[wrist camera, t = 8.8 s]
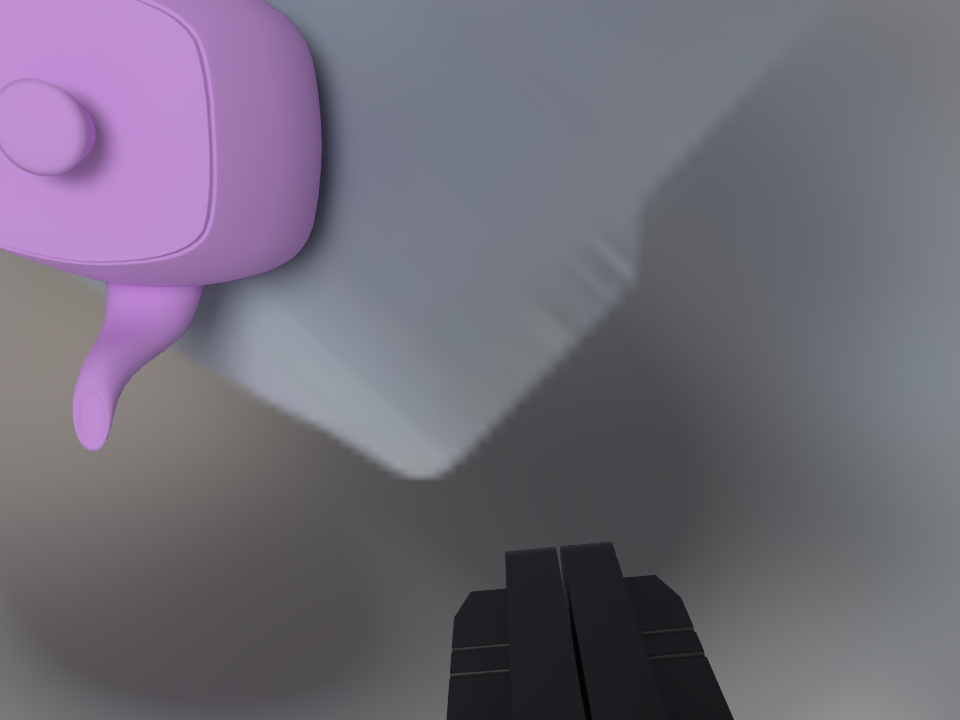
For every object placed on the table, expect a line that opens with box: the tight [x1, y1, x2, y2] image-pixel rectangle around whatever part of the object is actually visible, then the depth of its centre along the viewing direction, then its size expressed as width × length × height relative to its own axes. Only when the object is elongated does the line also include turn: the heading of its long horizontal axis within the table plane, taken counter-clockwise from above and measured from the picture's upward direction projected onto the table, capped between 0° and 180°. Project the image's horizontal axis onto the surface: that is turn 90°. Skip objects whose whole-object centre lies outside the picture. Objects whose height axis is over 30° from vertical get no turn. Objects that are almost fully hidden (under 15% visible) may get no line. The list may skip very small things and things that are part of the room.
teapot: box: [0, 0, 322, 451], centre depth 35 cm, size 23×21×15 cm
